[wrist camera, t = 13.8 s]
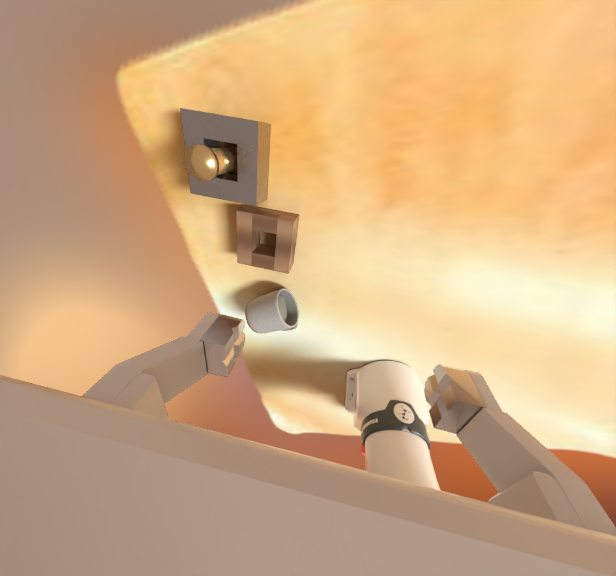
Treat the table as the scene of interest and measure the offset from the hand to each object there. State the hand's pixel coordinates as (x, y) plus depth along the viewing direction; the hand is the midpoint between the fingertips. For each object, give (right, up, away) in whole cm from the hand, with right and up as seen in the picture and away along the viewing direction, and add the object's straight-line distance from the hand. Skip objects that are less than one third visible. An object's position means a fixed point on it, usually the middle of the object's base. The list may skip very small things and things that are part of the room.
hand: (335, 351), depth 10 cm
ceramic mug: (-7, -1, +39) cm, 40 cm away
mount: (-8, +12, +31) cm, 34 cm away
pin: (-12, +22, +26) cm, 36 cm away
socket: (-12, +22, +26) cm, 36 cm away
